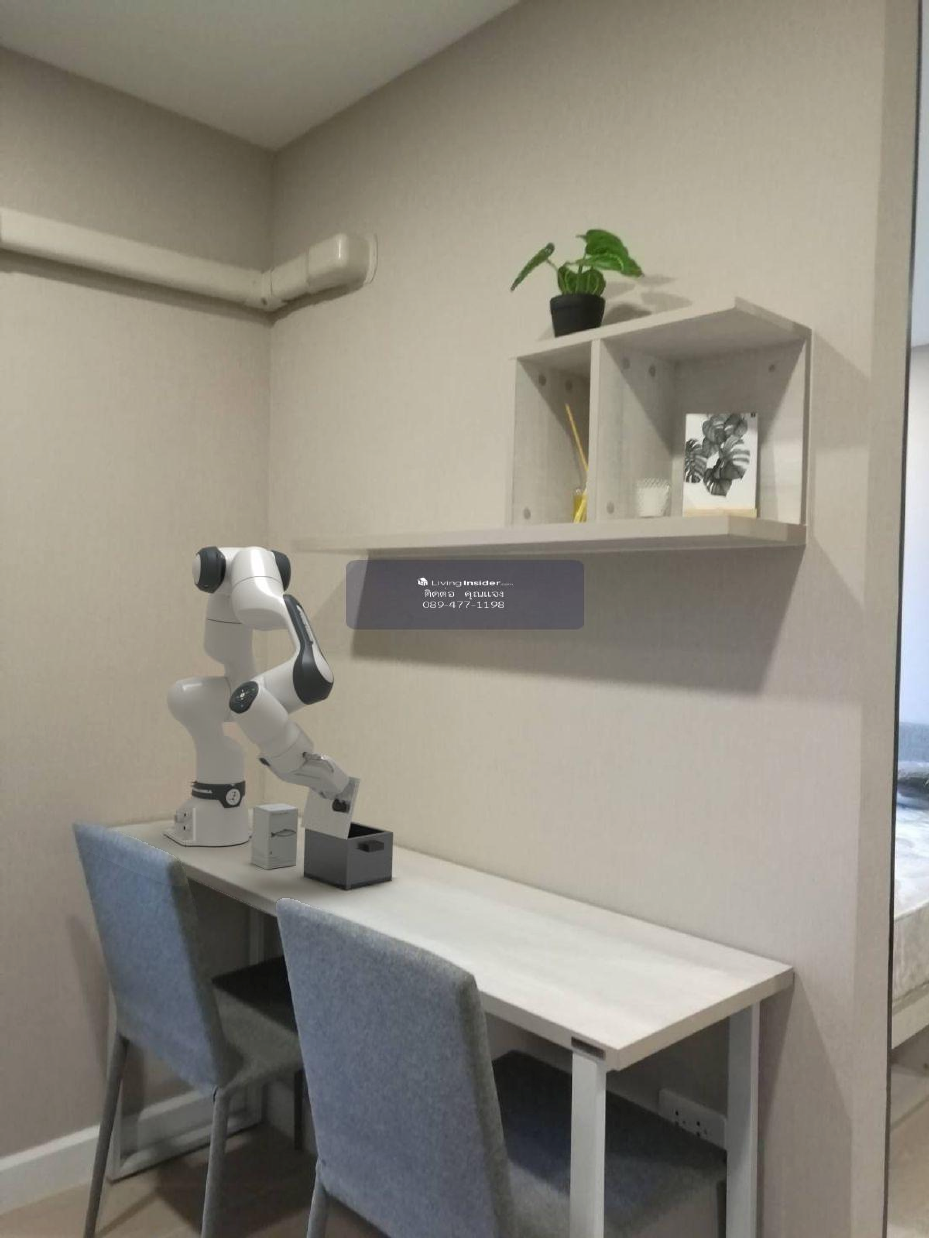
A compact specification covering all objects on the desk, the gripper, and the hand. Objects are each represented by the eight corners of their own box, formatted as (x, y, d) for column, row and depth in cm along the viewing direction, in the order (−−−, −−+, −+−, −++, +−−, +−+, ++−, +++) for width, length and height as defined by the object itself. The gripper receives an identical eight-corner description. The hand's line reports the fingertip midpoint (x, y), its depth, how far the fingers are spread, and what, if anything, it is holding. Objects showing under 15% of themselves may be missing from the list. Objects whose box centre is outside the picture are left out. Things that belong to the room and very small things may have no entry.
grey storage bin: (298, 874, 206) (299, 826, 206) (343, 865, 214) (344, 819, 214) (352, 892, 194) (353, 841, 194) (397, 882, 202) (399, 833, 202)
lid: (304, 827, 204) (294, 825, 203) (317, 769, 207) (307, 767, 205) (347, 839, 195) (337, 837, 193) (360, 778, 197) (350, 776, 195)
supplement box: (266, 870, 208) (268, 810, 208) (250, 863, 214) (252, 804, 214) (297, 865, 213) (299, 807, 213) (280, 858, 219) (282, 801, 219)
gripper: (332, 743, 187) (370, 790, 194) (271, 734, 202) (309, 778, 208) (312, 769, 184) (352, 816, 190) (251, 757, 198) (291, 802, 205)
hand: (329, 796), depth 199 cm, fingers closed, pressing on lid
